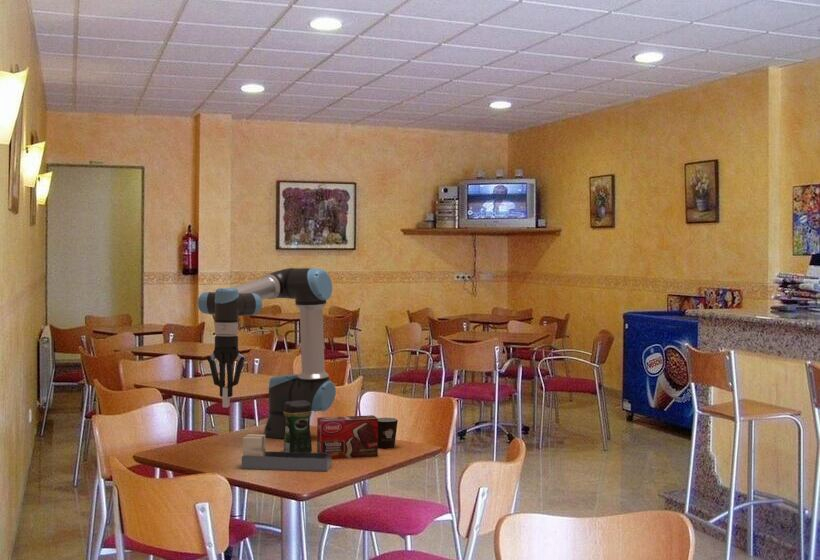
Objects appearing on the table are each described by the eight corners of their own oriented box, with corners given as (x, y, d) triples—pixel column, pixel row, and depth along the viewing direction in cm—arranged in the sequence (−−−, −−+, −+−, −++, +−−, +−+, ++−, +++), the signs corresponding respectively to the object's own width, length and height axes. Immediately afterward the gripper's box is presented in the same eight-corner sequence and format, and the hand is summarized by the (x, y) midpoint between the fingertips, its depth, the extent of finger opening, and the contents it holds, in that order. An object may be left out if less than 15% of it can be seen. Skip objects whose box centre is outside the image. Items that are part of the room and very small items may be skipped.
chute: (248, 462, 305) (248, 450, 305) (331, 465, 303) (331, 453, 302) (241, 468, 296) (241, 456, 296) (327, 471, 294) (327, 458, 294)
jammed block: (247, 458, 304) (247, 434, 303) (265, 458, 303) (265, 434, 303) (242, 462, 298) (242, 437, 297) (260, 462, 297) (261, 438, 297)
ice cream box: (320, 459, 311) (321, 420, 311) (317, 455, 317) (317, 417, 317) (377, 456, 317) (377, 418, 316) (372, 452, 323) (373, 415, 323)
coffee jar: (305, 450, 326) (306, 398, 326) (314, 454, 319) (314, 401, 319) (280, 452, 322) (280, 399, 321) (288, 456, 315) (288, 403, 314)
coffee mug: (398, 444, 337) (399, 417, 336) (396, 449, 328) (396, 421, 328) (367, 443, 338) (367, 417, 338) (364, 448, 329) (364, 421, 329)
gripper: (203, 335, 297) (203, 408, 297) (242, 336, 296) (242, 409, 296) (210, 333, 304) (209, 404, 305) (249, 334, 303) (248, 405, 304)
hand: (226, 406), depth 301 cm, fingers closed
